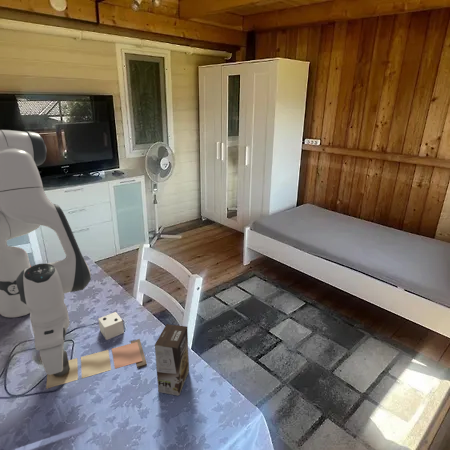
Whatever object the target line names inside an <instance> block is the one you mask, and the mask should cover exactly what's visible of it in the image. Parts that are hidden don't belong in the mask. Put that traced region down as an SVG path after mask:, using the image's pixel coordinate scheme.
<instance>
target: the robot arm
mask: <svg viewBox="0 0 450 450" xmlns="http://www.w3.org/2000/svg"><path fill="white" fill-rule="evenodd" d="M46 159H47V146H46V143H45V141H44V139H43V137H42V136H41V135H40V134H39V133H38V132H34V131H31V130H29V131H28V130H25V131H21V130H11V129H0V315H1V316H2V317H5V318H18V317H22V316H23V317H24V316H27V315H29V320H30V324H31V327H32V334H33V336H34V337H33V339H34V347H35V350H36V351H39V352H38V353H39V355H40V356H39V357H40V360H41V363H42V365H43V368H44V372H45V373H46V375H47V374H48V375H51V374H55V373H59V372H61V371H62V370H63V350H64V348H65V347H64V345H65V339H66V334H67V331H68V329H69V326H70V324H71V323H70V317H69V312H68V311H69V310H68V307H67V305H66V303H65V294H67V293H74V292H80V291H83V290H84V289H85V288H86V287H87V286H88V285H89V283H90V282H91V281H92V279H91V278H92V277H91V276H92V273H91V269H90V267H89V265H88V263H87V262H86V260H85V258H84V255H83V254H82V252H81V250H80V249H81V248H79V245H78V242H77V240H76V238H75V235H74V233H73V230H72V228H71V226H70V223H69V222H68V220H67V217H66V214H65V213H64V211H63V209H62V208H61V207H60V205H58V204H55V203H53V202H51V200H50V199H49V198H48V196H47V194H46V193H45V189H44V186H43V185H44V184H43V181H42V178H41V175H40V171H39V169H38V166H41V165H43V164H44V162H45V161H46ZM41 226H43V227H47V228H49V229H51V230H52V231H54V232H55V233H56V236H57V239H58V240H59V243H60V245H61V248H62V250H63V252H64V253H65V258H63V259H61V260H57V261H53V262H47V263H38V264H35V265H32V266H31V263H30V259H29V258H30V257H29V255H28V252H27V251H26V250H25V249H23V248H21V247H18V246H13V245H12V246H11V245H8V241H9V240H11V239H15V238H16V239H17V238H18V237H22V236H26V235H29V234H30V233H32V232H34V231H35V230H38V229H39V228H40V227H41Z"/></svg>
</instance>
